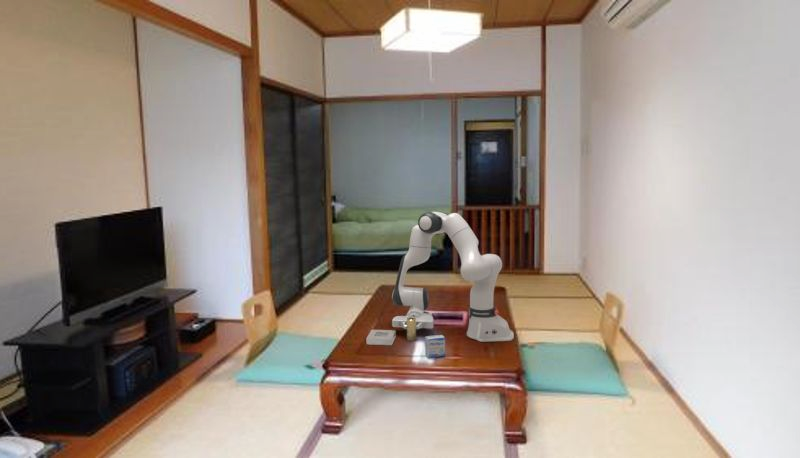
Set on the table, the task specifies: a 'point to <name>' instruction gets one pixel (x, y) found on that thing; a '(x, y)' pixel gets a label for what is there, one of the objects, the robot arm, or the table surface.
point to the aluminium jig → (381, 337)
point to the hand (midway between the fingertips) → (411, 327)
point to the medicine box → (434, 346)
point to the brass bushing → (411, 329)
